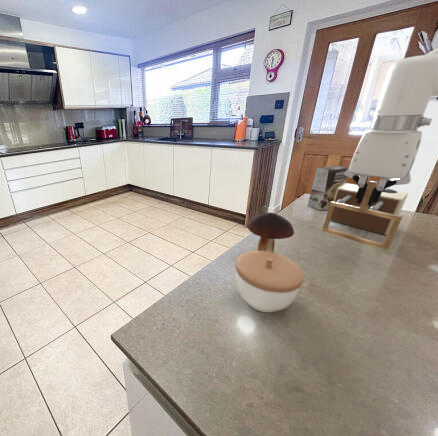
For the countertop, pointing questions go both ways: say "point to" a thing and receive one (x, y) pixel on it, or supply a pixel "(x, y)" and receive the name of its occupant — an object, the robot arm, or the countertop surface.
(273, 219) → the decorative mushroom
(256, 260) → the lidded bowl
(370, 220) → the cabinet
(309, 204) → the coffee box
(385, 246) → the wooden frame with handle
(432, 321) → the countertop surface
